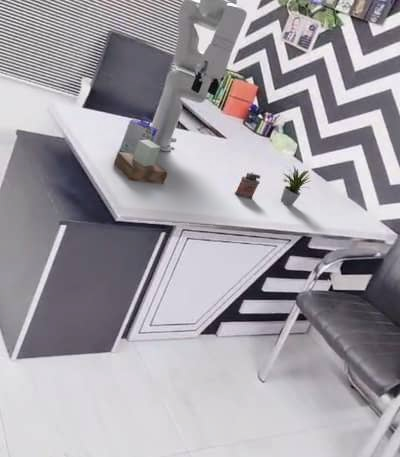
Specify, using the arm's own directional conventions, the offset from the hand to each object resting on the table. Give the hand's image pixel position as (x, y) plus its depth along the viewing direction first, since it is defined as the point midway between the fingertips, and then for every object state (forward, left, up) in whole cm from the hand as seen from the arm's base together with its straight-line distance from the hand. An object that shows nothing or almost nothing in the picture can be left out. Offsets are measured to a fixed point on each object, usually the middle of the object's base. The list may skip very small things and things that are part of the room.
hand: (202, 92), depth 180 cm
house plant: (-48, +27, -32) cm, 64 cm away
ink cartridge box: (+4, -16, -33) cm, 37 cm away
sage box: (+15, -2, -28) cm, 32 cm away
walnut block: (+15, -2, -33) cm, 36 cm away
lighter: (-25, +19, -32) cm, 45 cm away
